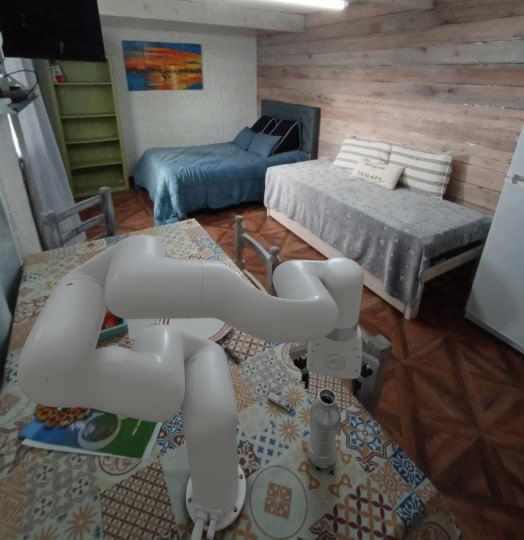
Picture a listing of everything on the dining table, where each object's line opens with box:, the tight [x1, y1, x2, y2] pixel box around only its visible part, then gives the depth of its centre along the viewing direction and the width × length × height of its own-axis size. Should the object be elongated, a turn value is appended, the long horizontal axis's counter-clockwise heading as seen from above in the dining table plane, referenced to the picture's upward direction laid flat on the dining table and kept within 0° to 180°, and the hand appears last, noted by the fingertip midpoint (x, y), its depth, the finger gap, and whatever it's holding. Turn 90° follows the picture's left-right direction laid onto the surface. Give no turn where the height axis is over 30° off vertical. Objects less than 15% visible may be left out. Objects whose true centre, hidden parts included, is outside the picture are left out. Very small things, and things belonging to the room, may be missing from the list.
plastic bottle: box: [306, 388, 342, 469], centre depth 69 cm, size 6×7×20 cm
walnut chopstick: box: [224, 347, 241, 364], centre depth 98 cm, size 7×1×1 cm, turn 44°
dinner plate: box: [156, 318, 233, 343], centre depth 110 cm, size 27×27×3 cm
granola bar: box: [267, 390, 293, 412], centre depth 84 cm, size 7×2×1 cm, turn 58°
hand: (330, 386), depth 65 cm, fingers open, 9 cm apart
